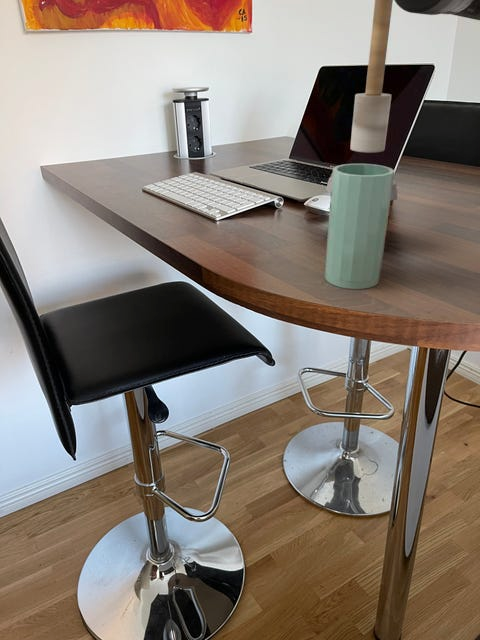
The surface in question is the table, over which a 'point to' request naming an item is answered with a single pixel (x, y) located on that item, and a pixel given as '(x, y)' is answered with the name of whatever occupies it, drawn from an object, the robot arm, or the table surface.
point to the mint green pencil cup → (357, 224)
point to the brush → (374, 89)
